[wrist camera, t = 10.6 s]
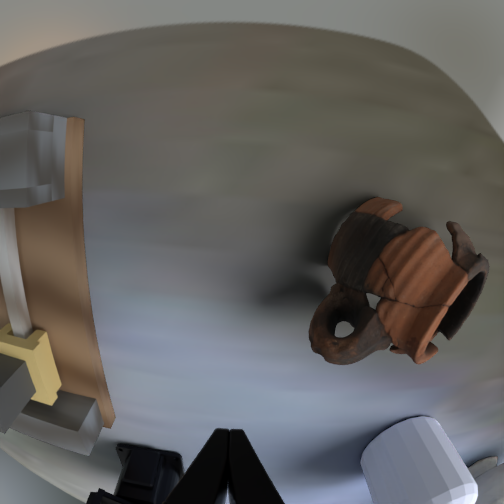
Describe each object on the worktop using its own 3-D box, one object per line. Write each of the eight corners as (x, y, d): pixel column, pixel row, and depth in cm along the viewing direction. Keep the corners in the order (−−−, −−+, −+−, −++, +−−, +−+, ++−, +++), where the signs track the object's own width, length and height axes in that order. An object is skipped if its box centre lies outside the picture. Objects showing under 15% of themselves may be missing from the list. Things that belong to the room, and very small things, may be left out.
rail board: (115, 417, 23) (96, 461, 18) (22, 392, 23) (-3, 424, 18) (84, 119, 17) (36, 109, 12) (-20, 139, 17) (-67, 140, 11)
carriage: (65, 385, 20) (22, 449, 13) (21, 373, 20) (-25, 426, 13) (50, 332, 19) (-8, 392, 11) (5, 322, 19) (-53, 371, 11)
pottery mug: (401, 161, 19) (508, 214, 12) (408, 256, 25) (481, 310, 19) (253, 268, 17) (352, 380, 11) (298, 346, 23) (365, 426, 17)
